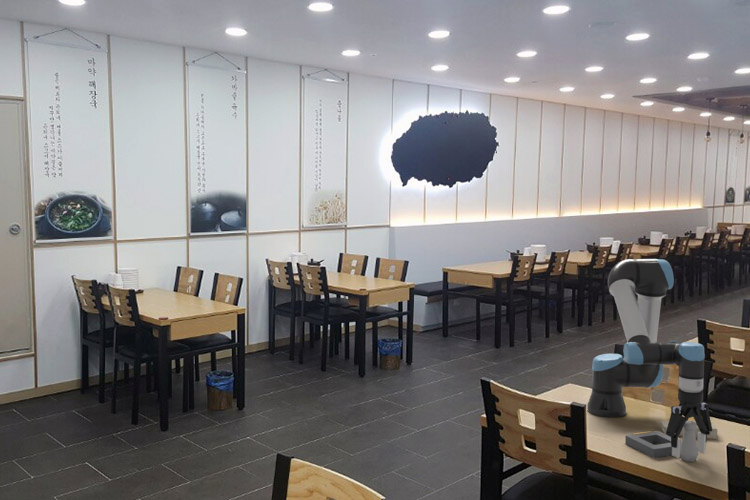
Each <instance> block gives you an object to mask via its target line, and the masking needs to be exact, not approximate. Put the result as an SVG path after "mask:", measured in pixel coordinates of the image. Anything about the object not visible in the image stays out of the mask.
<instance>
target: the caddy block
mask: <svg viewBox="0 0 750 500" xmlns="http://www.w3.org/2000/svg"><path fill="white" fill-rule="evenodd" d="M681 442H682V440H680V446H681ZM625 445H628V446H629V447H631V448H633V449H635V450H637V451H639V452H640V453H643V454H645V455H647V456H648V457H651V458H653V459H654V458H655V459H656V458H657V459H658V458H662V457H668V456H673V455H672V446H671V437H670V436H668V435H666V434H664V433H663V432H662V431H658V430H654V431H651V430H650V431H642V432H636V433H635V432H634V433H632V434H628V435H627V434H626V435H625Z"/></svg>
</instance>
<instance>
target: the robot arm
mask: <svg viewBox="0 0 750 500" xmlns="http://www.w3.org/2000/svg"><path fill="white" fill-rule="evenodd" d="M674 279H675V278H674V271H673V268H672V266H671V264H670V262H668V261H667V260H666V259H660V258H659V259H657V258H641V259H640V258H639V259H638V258H636V259H635V258H634V259H633V258H626V259H623V260H621V261H619V262H617V263H616V264H615V265H614V266H613V267H612V268H611V270H610V272H609V274H608V276H607V288H608V291H609V294H610V295H611V296H613V298H614V302H615V304H616V307H617V308H616V309H617V312H618V314H619V317H620V322H621V325H622V328H623V332H624V336H625V338H626V341H627V342H625V343H624V345H623V348H622V349H623V350H622V352H623V355H622V354H619V353H603V354H599V355H597V356H595V357H594V358H593V359H592V365H591V370H592V375H591V376H592V378H591V381H592V383H591V393H590V397H589V400H588V403H586V404H587V406H586V409H588V410H587V412H589V413H590V414H592V413H593V415H595V414H596V415H595V416H601V417H605V418H606V417H607V418H618V417H623V416H626V414H627V407H626V403H625V400H624V397H623V388H647V389H648V388H655V387H658V386H659V385H660V384H661V382H662V380H663V377H664V365H666V366H667V365H668V366H671V365H673V366H674V365H675V366H678V385H677V387H678V389H677V391H678V392H677V399H678V402H679V404H678V405H677V406H673V405H672V406H671V407H670V415H669V418H668V421H669V423H668V427H667V431H666V434H665V435H668V436H670V437H671V446H672V455H671V456H673V457H675V458H676V459H680V457H681V456H680V441H681V438H680V437H679V435H680V433H681V431H682V429H683V426H684V424H685V422H686V421H689V419H690V418H693V419H694V421H695V422H696V424H697V426H698V428H699V430H700V432H698V437H697V441H696V443H697V449H698V453H701V454H703V455H704V454H705V455H706V443H707V441H708V438H707V435H709V434H710V432H711V431H712V425H711V423H712V420H711V416H710V412H709V409H710V407H709V406H710V405H709V403H706V402H704V392H703V390H704V377H705V376H704V372H705V358H706V354H705V346H704V345H703V344H701V343H697V342H693V341H692V342H691V341H683V342H682V341H679V340H670V341H668V342H658V341H657V340H658V333H659V332H658V331H659V325H660V324H659V323H660V314H661V305H662V298H664V297H666V296H667V291H669V290H672V289H673V286H674V283H675V282H674ZM636 295H637V296H636ZM709 431H710V432H709ZM675 433H676V434H675Z"/></svg>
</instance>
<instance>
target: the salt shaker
mask: <svg viewBox="0 0 750 500" xmlns="http://www.w3.org/2000/svg"><path fill="white" fill-rule="evenodd" d="M693 421H694V420H687V421H686V422H685V424H684V426H683V428H684V434H683V436H682V438H681V446H680V457H681V460H682V461H684V462H689V463H692V462H696V461H697V458H698V457H699V452H698V449H697V437H696V436H695V430H696V429H697V425H696V423H695V422H693Z"/></svg>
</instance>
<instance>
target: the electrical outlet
mask: <svg viewBox="0 0 750 500" xmlns="http://www.w3.org/2000/svg"><path fill="white" fill-rule="evenodd" d="M692 421H693V422H695V420H692ZM668 423H669V420H661V432H662V433H663V434H665V435H666V431H667V427H668ZM695 423H696V422H695ZM696 425H697V424H696ZM711 425H712V431H711V432H710V431H709V432H710V434H709V435H707V439H712V438H713V439H714V438H715V440H716V439H717V440H718V428H717V426H716V424H715V423H714V422H711ZM698 432H700V430H699V428H698V426H697V429H696V430H695V436H696V438H698ZM675 434H676V433H675ZM683 434H684V428H683V429H682V431H681V433H680V435H679V436H680V437H681V436H682V437H683Z"/></svg>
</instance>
